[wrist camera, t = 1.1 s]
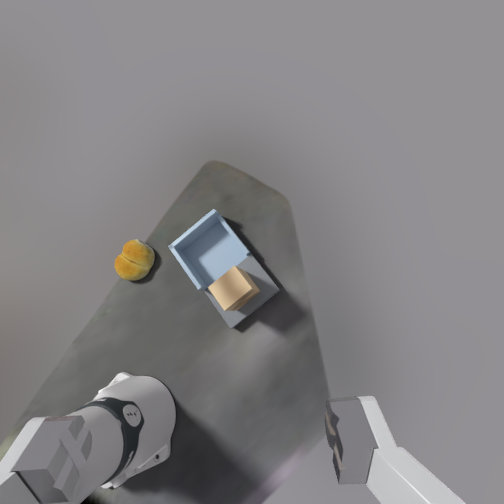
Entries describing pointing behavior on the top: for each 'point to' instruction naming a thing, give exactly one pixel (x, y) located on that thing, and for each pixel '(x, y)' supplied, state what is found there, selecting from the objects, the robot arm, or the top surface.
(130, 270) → the bread roll
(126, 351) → the top surface
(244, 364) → the top surface
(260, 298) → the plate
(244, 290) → the oak block
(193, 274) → the tray
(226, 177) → the top surface
